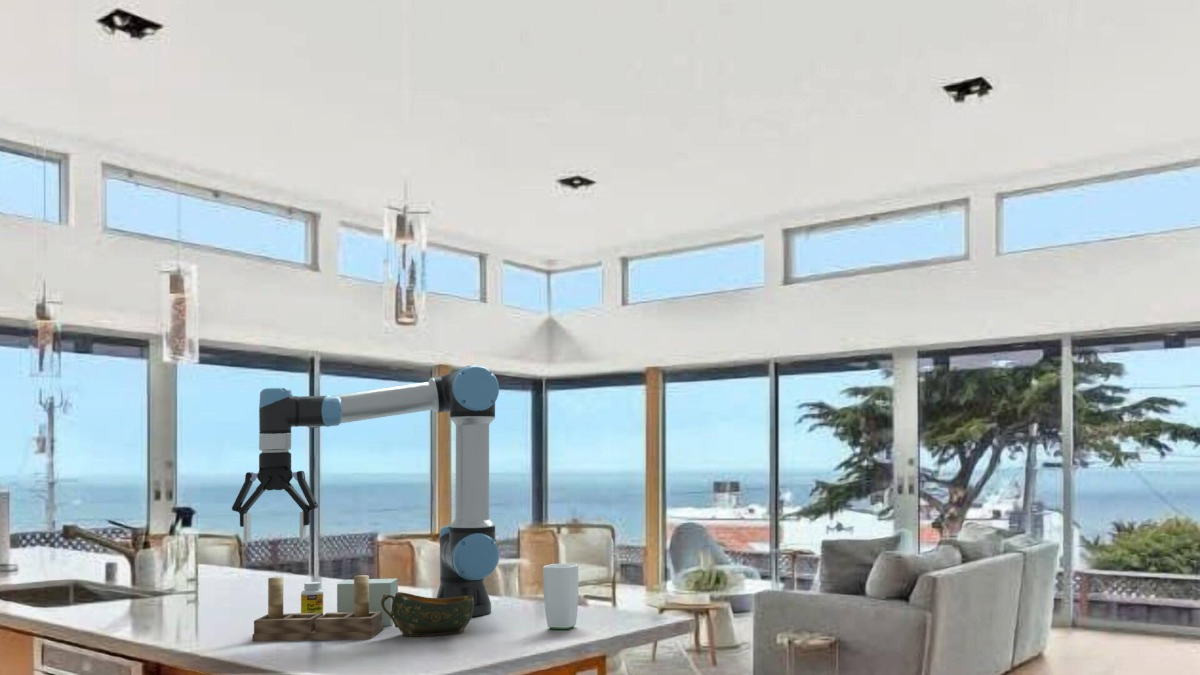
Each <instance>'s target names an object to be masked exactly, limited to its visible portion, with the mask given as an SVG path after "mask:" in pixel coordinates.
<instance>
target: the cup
mask: <svg viewBox="0 0 1200 675" xmlns="http://www.w3.org/2000/svg"><path fill="white" fill-rule="evenodd" d="M542 584H543V586H542V587H543V588H542V589H543V598H544V599H543V602H544V611H545V619H546V624H547V627H548V628H549V629H552V630H570V629H572V628H574V627H575V626H576V625H577V620H578V619H577V618H578V608H579V607H578V606H579V564H577V563H551V564H547V565H544V566H543V567H542Z"/></svg>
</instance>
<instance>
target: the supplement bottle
mask: <svg viewBox="0 0 1200 675" xmlns="http://www.w3.org/2000/svg"><path fill="white" fill-rule="evenodd" d="M303 586H304V587H303V589H304V590H302V591H301V592H300V613H323V614H324V591H323V589H321V582H320V581H309V582H304V585H303Z"/></svg>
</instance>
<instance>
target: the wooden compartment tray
mask: <svg viewBox="0 0 1200 675" xmlns="http://www.w3.org/2000/svg"><path fill="white" fill-rule="evenodd" d="M369 579H370V575H367V574H366V575H365V574H364V575H363V574H362V575H361V574H359V575H354V576H353V580H354V612H338V613H337V612H325V613H324V612H323V613H301V612H300V613H297V612H296V613H294V612H293V613H283V619H268V613H267V614H265V615H263V616H261V617H258V618H257V619H255V620H253V634H252V642H271V641H272V642H273V641H277V642H278V641H279V642H280V641H315V640H319V641H320V640H321V641H322V640H324V641H325V640H328V641H329V640H365V639H366V640H367V639H369V640H370V639H371V638H372V639H373V638H374V637H375V636H377V635H378V634H379V633H381V632H382V631H383V630H384V626H383V623H382V612H369Z"/></svg>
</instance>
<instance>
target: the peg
mask: <svg viewBox="0 0 1200 675" xmlns="http://www.w3.org/2000/svg"><path fill="white" fill-rule="evenodd" d="M267 581H268V582H267V586H268V587H267V588H268V589H267V597H268V598H267V604H268V605H267V606H268V607H267V614H268V619H283V614H284V577H283V576H275V577H268V579H267Z"/></svg>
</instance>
